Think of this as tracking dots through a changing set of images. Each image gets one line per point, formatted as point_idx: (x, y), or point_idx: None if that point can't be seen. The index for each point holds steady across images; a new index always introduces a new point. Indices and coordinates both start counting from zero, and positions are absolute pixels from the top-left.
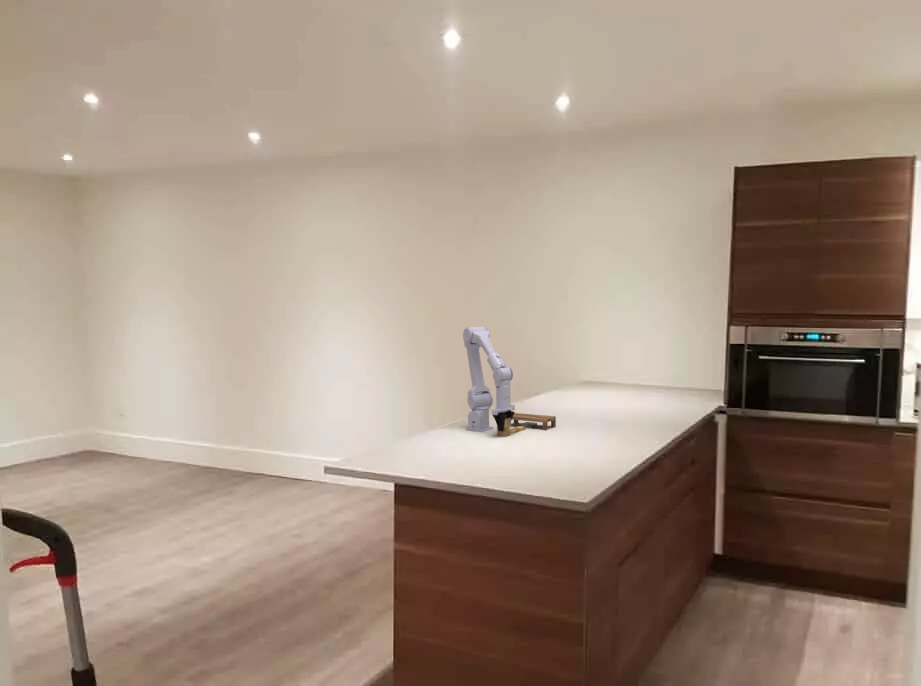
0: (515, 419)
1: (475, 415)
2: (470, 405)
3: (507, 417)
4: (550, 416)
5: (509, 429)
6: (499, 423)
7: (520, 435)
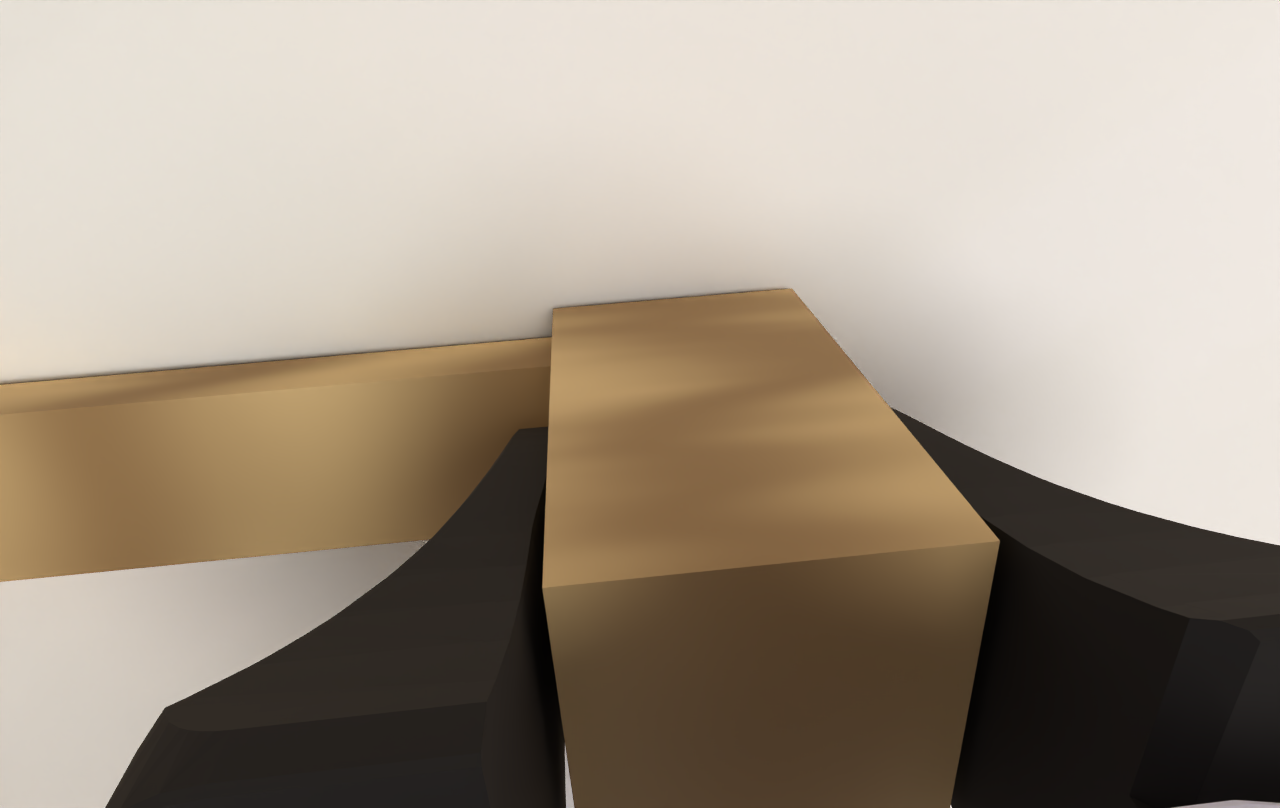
0: None
1: None
2: None
3: (537, 722)
4: None
5: (619, 361)
6: None
7: (395, 91)
